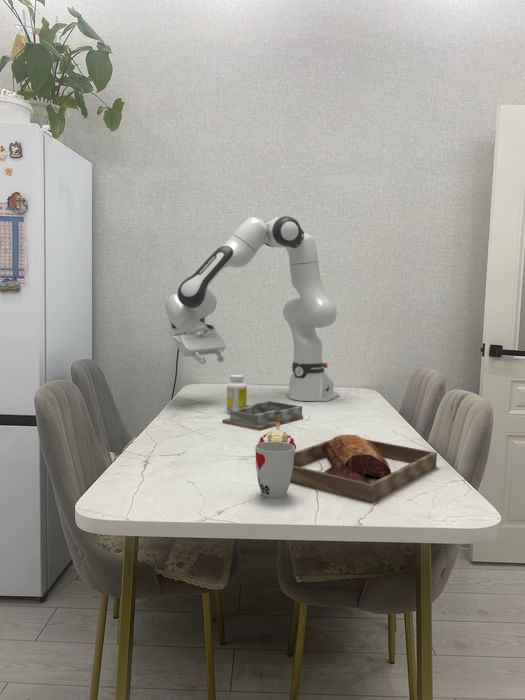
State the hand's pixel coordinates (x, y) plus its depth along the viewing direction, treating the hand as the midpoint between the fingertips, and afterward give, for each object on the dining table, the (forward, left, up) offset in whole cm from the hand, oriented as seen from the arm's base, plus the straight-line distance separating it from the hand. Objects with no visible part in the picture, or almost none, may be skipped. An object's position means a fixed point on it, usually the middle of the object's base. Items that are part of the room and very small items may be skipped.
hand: (213, 362), depth 209 cm
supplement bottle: (0, +11, -17) cm, 20 cm away
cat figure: (+31, +51, -17) cm, 62 cm away
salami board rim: (+32, +75, -16) cm, 83 cm away
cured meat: (+33, +75, -17) cm, 83 cm away
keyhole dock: (+4, +26, -16) cm, 31 cm away
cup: (+57, +70, -17) cm, 92 cm away
